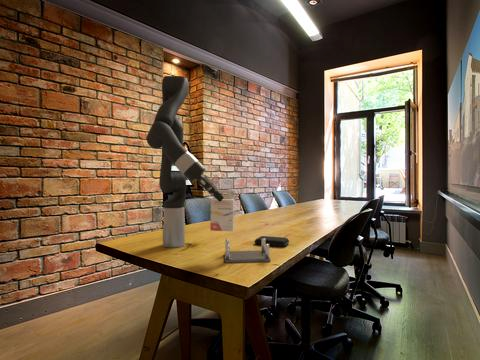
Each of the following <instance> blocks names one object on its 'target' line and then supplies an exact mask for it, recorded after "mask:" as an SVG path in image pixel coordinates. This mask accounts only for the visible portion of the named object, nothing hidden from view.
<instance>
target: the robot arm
mask: <svg viewBox="0 0 480 360" xmlns="http://www.w3.org/2000/svg"><path fill="white" fill-rule="evenodd" d="M161 81H162V82H161V96H162V97H161V99H162V103H161V104H160V106H159V108H158V109H157V112H156V114H155V116H154V120H153V122H152V125H151V127H150V129H149V130H148V133H147V135H146V142H147V144H148V145H149V147H150V148H152V149H161V161H160V170H159V181H158V182H159V187H160V188H159V189H160V191H161V192H162V193H173V195H172V196H171V197H170V198H168V199H166V200H165V201H163V225H162V248H180V247H184V246H185V244H186V237H185V235H186V229H185V228H186V227H185V226H186V225H185V219H186V218H185V205H186V204H185V203H186V199H187V197H186V196H187V195H186V194H187V180H188V181H189V182H190V183H194V182H195V181H198V185H199V186H200V187H202V188H203V189H204V190H205V191H206V192H208V194H210V195H211V196H213V198H214V197H215V198H216V199H217V200H218V201H219V202H220V201H221V200H222V199H223V198H224V197H223V196H222V195H224V194H223V193H219V192H218V191H217V190H219V189H218V187H217V185H215V183H214V182H213V181H212V180H211V179H210V177H209V176H207V175H204V173H205V171H206V167H205V166H204V165H203V164H202V163H201V162H200V161H199V159H197V158H196V157H195V156H194V155H193V154H192V153H191V152H190V151H188V150H187V149H186V147H185V146H184V145H183V143H184V126H183V124H182V122H181V120H180V118H179V117H178V116H177V113H178V111H179V109H180V108H181V107H182V105H183V103H184V102H185V100H186V98H187V97H188V94H189V92H190V86H189V85H190V84H189V80H188V78H187V77H185V76H184V75H183V76H182V75H165V76H163V77H162V80H161ZM173 165H174V166H175V167H176V168H177V170H178V171H172V168H173V167H172V166H173Z"/></svg>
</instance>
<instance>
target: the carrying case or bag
mask: <svg viewBox="0 0 480 360" xmlns="http://www.w3.org/2000/svg"><path fill="white" fill-rule="evenodd" d="M263 238H264V239H266V244H269V247H274V248H275V247H276V248H285V247H286V246H287V245H288V244H289V243H290V240H289V239H288V237H282V236H281V237H279V236H271V235H270V236H269V235H267V236H266V235H261V236H259V237H257V238H256V239H255V240H253V241H254V244H255V245H256V246H262V241H261V239H263Z"/></svg>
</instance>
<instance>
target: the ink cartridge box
mask: <svg viewBox="0 0 480 360" xmlns="http://www.w3.org/2000/svg"><path fill="white" fill-rule="evenodd" d="M217 191H218V192H219V193H222V194H223V193H224V194H223V195H222V196H223V197H224V198H223V199H222V200H221V201H220V202H219V201H218V200H217V199H216V198H215V197H214V196H213V198H211V199H210V222H209V223H210V228H209V229H210V231H213V232H214V231H215V232H216V231H217V232H219V231H220V232H233V231H234V229H235V209H236V208H235V205H236V204H235V203H236V202H235V201H236V200H235V191H234V190H228V189H227V190H226V189H225V190H224V189H223V190H222V189H218V190H217Z"/></svg>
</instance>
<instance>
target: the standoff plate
mask: <svg viewBox="0 0 480 360" xmlns="http://www.w3.org/2000/svg"><path fill="white" fill-rule="evenodd" d="M261 241H262V245H261V250H232V251H231V245H230V239H229V238H226V239H225V248H224V249H225V251H224V262H225V264H230V263H231V264H233V263H265V262H266V263H268V262H270V263H271V257H270V246H269V244H266V239H264V238H263V239H261Z"/></svg>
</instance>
